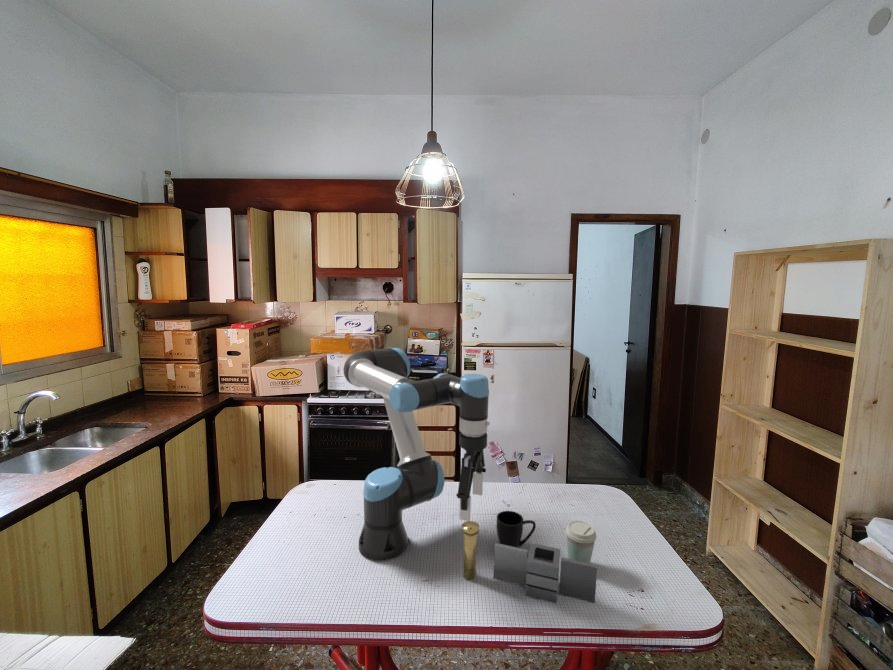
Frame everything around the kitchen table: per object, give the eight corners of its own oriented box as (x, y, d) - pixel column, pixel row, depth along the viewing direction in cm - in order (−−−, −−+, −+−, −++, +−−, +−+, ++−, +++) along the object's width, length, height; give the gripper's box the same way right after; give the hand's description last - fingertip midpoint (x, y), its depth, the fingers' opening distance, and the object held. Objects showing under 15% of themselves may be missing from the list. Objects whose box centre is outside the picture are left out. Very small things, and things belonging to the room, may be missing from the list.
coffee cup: (574, 578, 115) (576, 538, 113) (558, 558, 123) (560, 521, 122) (600, 573, 117) (603, 534, 116) (582, 553, 125) (585, 517, 124)
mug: (535, 557, 123) (536, 528, 122) (495, 553, 125) (496, 524, 124) (533, 540, 131) (534, 512, 130) (496, 536, 133) (497, 509, 132)
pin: (458, 579, 114) (459, 529, 112) (463, 568, 118) (464, 519, 116) (475, 584, 112) (476, 532, 110) (479, 572, 117) (481, 522, 115)
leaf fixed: (525, 595, 108) (527, 561, 107) (529, 575, 116) (530, 542, 114) (595, 613, 103) (597, 577, 102) (594, 590, 110) (596, 556, 109)
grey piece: (490, 586, 111) (491, 553, 110) (496, 567, 119) (497, 535, 117) (556, 603, 106) (558, 568, 104) (558, 582, 113) (560, 549, 112)
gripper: (475, 452, 97) (473, 535, 99) (496, 419, 120) (494, 487, 123) (445, 447, 99) (444, 529, 102) (471, 416, 122) (470, 482, 125)
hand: (471, 506), depth 112 cm, fingers open, 13 cm apart
